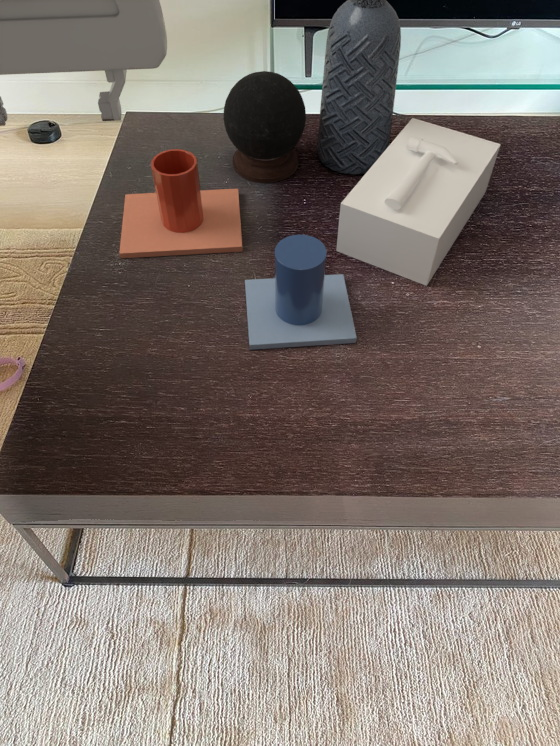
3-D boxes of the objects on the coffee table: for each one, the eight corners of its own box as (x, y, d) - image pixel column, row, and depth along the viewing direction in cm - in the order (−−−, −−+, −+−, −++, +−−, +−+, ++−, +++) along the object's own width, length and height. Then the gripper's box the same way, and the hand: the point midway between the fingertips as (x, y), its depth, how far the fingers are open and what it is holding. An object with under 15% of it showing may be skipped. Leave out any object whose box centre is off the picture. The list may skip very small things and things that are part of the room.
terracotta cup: (161, 234, 93) (150, 177, 85) (162, 207, 97) (151, 150, 89) (204, 231, 93) (197, 174, 85) (203, 204, 97) (196, 147, 89)
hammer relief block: (485, 191, 101) (505, 130, 92) (426, 285, 88) (442, 224, 79) (403, 165, 105) (414, 104, 97) (336, 251, 92) (341, 189, 84)
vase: (390, 176, 103) (420, -9, 81) (317, 176, 103) (327, -10, 81) (383, 135, 111) (410, -45, 88) (315, 135, 111) (324, -46, 88)
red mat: (120, 258, 91) (119, 253, 90) (126, 199, 100) (125, 194, 99) (242, 251, 92) (242, 246, 91) (238, 193, 101) (238, 188, 100)
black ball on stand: (219, 147, 108) (211, 61, 96) (291, 135, 111) (292, 50, 99) (237, 192, 101) (231, 105, 89) (314, 178, 103) (318, 91, 91)
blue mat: (249, 349, 81) (249, 345, 80) (245, 284, 88) (244, 279, 87) (356, 343, 81) (356, 338, 81) (342, 279, 89) (343, 273, 88)
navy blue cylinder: (277, 326, 82) (276, 271, 74) (273, 292, 86) (272, 235, 78) (325, 323, 82) (330, 268, 74) (319, 289, 86) (323, 232, 78)
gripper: (156, -97, 43) (181, 94, 54) (-148, -89, 42) (-60, 105, 53) (152, -64, 39) (180, 135, 50) (-182, -54, 38) (-79, 147, 49)
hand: (55, 120), depth 52 cm, fingers open, 8 cm apart
